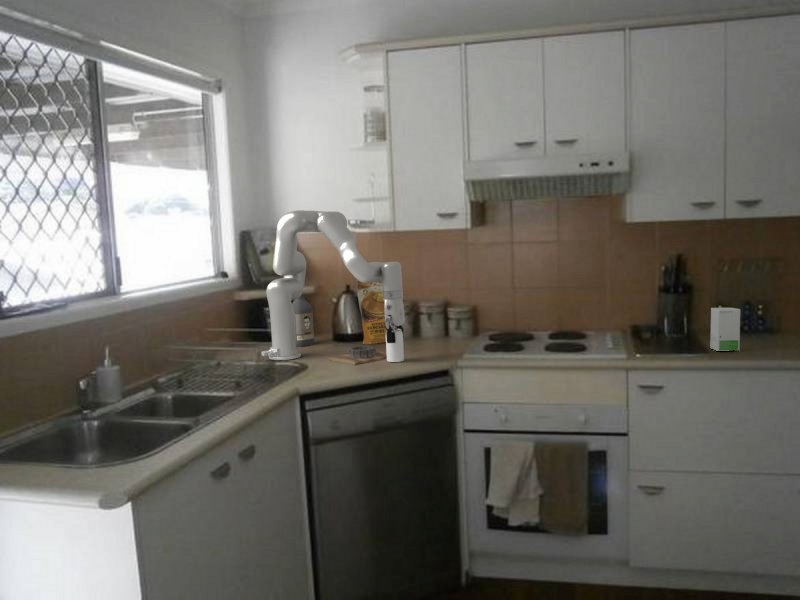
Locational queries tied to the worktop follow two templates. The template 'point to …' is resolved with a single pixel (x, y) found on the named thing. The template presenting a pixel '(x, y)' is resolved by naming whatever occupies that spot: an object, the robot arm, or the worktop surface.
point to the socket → (360, 355)
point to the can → (395, 348)
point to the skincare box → (725, 329)
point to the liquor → (303, 322)
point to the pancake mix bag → (372, 311)
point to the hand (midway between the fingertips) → (395, 340)
